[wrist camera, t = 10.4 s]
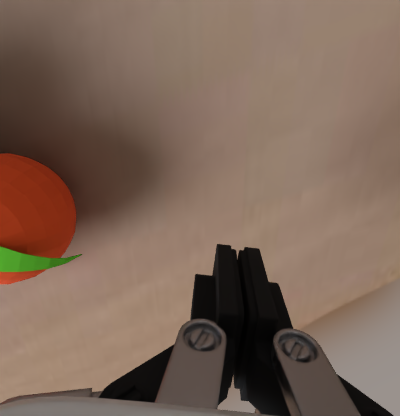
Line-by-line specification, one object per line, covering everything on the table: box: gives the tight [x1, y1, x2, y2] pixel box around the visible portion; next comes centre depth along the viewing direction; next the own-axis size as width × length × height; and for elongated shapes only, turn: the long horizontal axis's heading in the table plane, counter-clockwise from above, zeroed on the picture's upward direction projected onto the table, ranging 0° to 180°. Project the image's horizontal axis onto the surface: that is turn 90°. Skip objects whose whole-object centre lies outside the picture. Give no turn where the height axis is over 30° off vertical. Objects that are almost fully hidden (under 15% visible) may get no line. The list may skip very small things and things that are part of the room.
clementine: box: [0, 153, 82, 284], centre depth 16 cm, size 8×7×7 cm
